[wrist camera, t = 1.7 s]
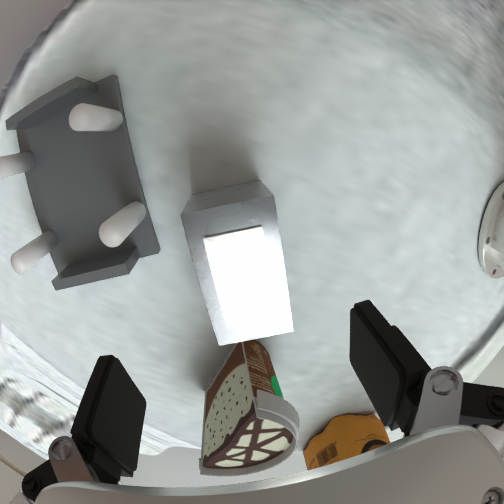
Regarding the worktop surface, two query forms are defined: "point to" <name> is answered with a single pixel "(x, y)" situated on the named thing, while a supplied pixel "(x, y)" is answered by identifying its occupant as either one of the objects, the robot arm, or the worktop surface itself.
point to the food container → (246, 416)
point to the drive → (239, 261)
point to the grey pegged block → (81, 184)
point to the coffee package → (345, 440)
